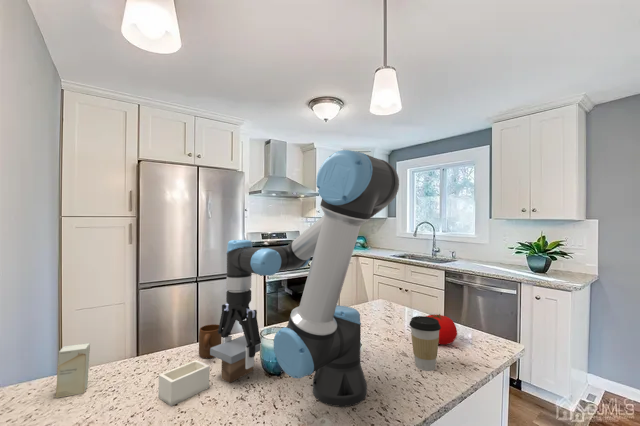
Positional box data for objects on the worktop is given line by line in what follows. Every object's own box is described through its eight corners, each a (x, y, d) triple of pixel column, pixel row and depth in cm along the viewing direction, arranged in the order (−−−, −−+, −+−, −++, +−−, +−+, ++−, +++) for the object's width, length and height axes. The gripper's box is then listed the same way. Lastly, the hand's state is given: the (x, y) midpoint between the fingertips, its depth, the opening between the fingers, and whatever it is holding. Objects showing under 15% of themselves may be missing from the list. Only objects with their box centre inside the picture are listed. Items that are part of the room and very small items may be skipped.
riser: (253, 370, 95) (253, 348, 95) (229, 382, 88) (230, 358, 88) (245, 367, 98) (245, 345, 98) (221, 378, 90) (221, 355, 90)
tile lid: (265, 348, 95) (265, 342, 95) (231, 364, 85) (231, 356, 85) (244, 341, 101) (244, 335, 101) (210, 354, 91) (210, 348, 91)
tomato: (464, 344, 117) (464, 317, 117) (445, 352, 110) (444, 323, 110) (432, 333, 129) (432, 308, 129) (413, 339, 122) (412, 313, 122)
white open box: (209, 387, 85) (209, 365, 86) (171, 406, 77) (171, 382, 77) (196, 380, 89) (196, 359, 89) (158, 397, 80) (158, 374, 81)
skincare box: (55, 399, 80) (56, 352, 80) (61, 390, 84) (62, 346, 84) (84, 393, 82) (86, 348, 83) (89, 385, 86) (90, 342, 87)
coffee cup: (442, 362, 101) (441, 317, 102) (440, 376, 92) (440, 326, 93) (411, 357, 105) (411, 314, 106) (407, 369, 96) (407, 322, 97)
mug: (217, 364, 100) (217, 335, 100) (192, 365, 98) (193, 336, 99) (222, 349, 111) (223, 323, 112) (201, 350, 110) (201, 324, 110)
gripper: (273, 292, 90) (273, 368, 89) (226, 283, 103) (225, 349, 102) (254, 297, 84) (253, 378, 83) (206, 287, 97) (205, 357, 96)
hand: (238, 362), depth 93 cm, fingers closed on tile lid, 10 cm apart
